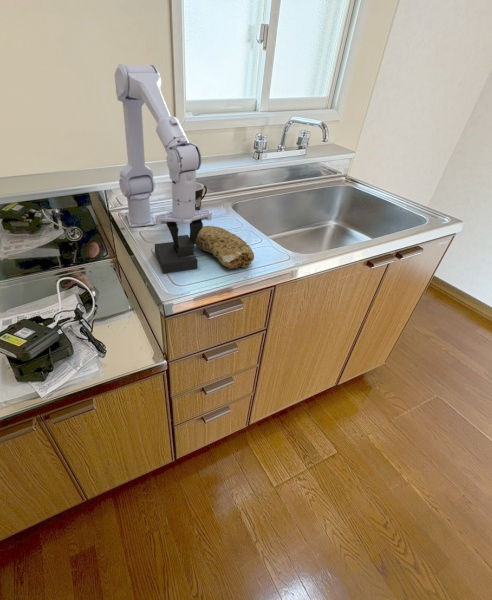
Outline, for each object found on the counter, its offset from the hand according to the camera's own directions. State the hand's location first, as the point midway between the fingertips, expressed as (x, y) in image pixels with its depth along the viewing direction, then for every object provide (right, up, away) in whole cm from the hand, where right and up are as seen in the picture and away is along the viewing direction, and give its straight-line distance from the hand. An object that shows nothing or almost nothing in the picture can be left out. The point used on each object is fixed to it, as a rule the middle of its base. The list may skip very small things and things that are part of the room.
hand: (183, 245), depth 88 cm
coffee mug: (+2, +16, +27) cm, 32 cm away
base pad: (-3, -4, +2) cm, 5 cm away
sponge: (+10, -2, +6) cm, 12 cm away
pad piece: (0, -1, +1) cm, 1 cm away
